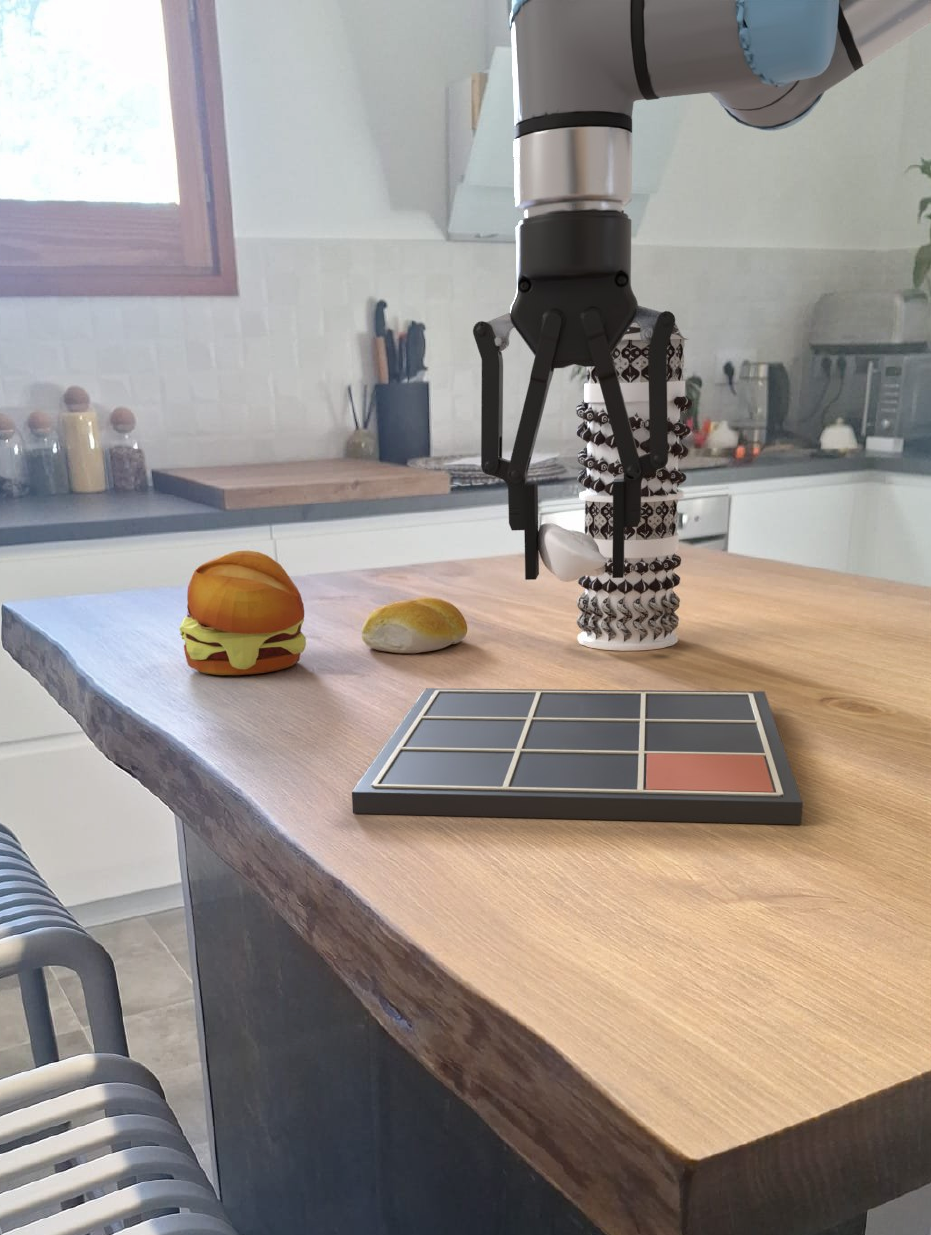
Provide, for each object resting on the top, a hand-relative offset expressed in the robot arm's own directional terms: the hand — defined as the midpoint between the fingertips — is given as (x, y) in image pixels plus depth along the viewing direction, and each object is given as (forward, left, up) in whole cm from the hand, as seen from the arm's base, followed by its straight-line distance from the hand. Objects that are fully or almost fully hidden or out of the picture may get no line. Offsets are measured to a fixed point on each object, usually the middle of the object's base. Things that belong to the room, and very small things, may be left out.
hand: (575, 575), depth 89 cm
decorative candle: (-4, -15, -8) cm, 17 cm away
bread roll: (+14, -13, -8) cm, 21 cm away
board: (-2, +19, -8) cm, 21 cm away
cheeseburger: (+26, -4, -8) cm, 28 cm away
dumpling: (0, 0, -1) cm, 1 cm away
